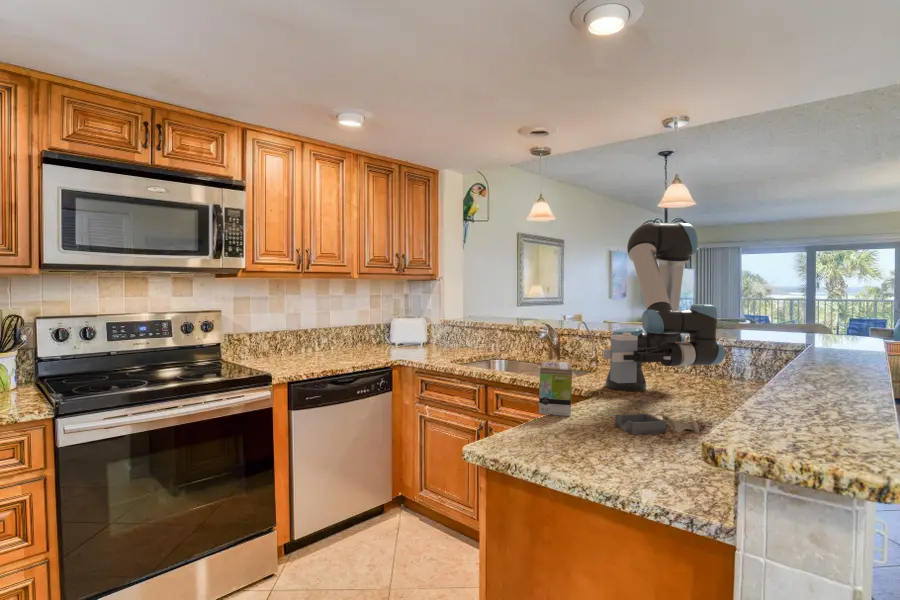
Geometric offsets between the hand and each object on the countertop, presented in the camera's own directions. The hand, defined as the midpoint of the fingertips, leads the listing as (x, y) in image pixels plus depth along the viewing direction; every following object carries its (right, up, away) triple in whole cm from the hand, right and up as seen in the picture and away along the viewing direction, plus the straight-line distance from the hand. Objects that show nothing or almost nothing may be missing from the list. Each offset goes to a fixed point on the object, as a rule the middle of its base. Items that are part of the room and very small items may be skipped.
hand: (608, 355), depth 149 cm
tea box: (-15, -19, +8) cm, 25 cm away
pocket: (+5, -19, -13) cm, 23 cm away
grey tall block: (+5, -8, +1) cm, 10 cm away
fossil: (+17, -20, -11) cm, 28 cm away
